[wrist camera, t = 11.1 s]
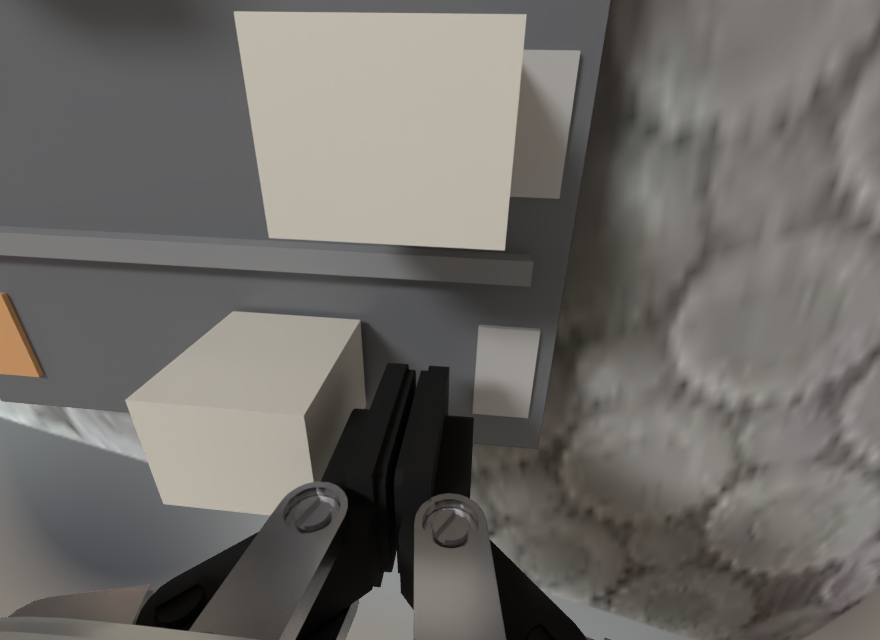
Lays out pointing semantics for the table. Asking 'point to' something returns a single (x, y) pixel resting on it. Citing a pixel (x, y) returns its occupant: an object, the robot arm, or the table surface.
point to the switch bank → (256, 211)
